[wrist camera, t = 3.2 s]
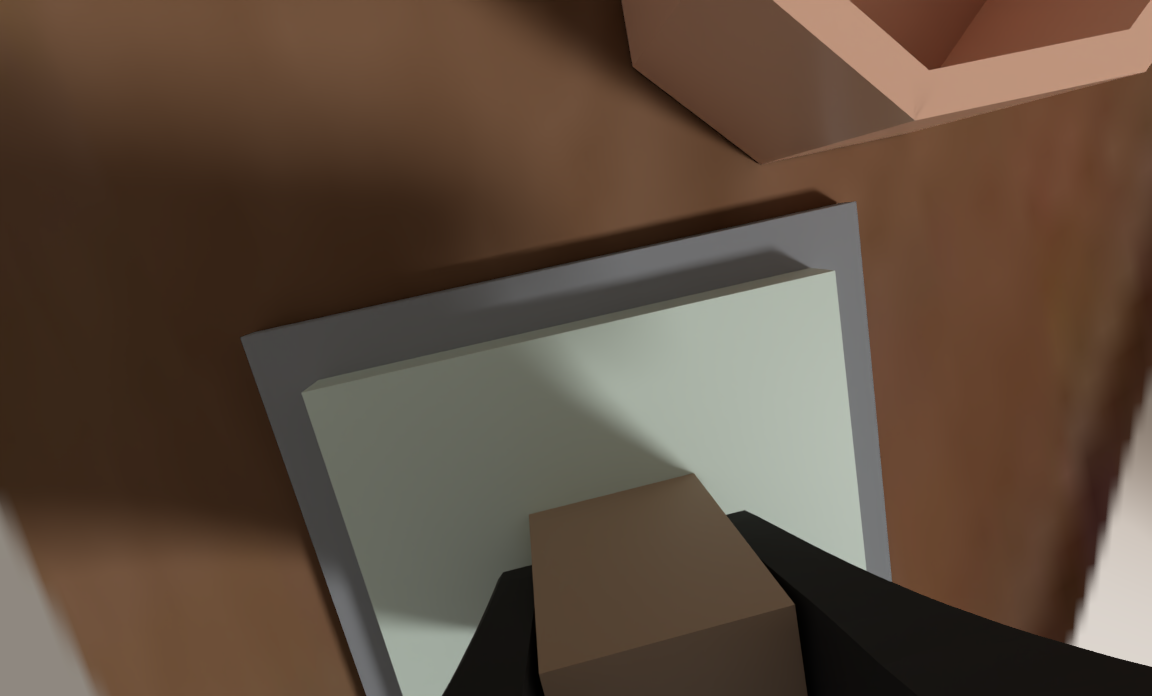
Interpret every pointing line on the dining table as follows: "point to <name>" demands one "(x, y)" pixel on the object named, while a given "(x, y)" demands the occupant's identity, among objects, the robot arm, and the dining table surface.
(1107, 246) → the dining table surface
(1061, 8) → the terracotta bowl
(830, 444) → the sage lid
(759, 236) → the grey mat
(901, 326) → the dining table surface
